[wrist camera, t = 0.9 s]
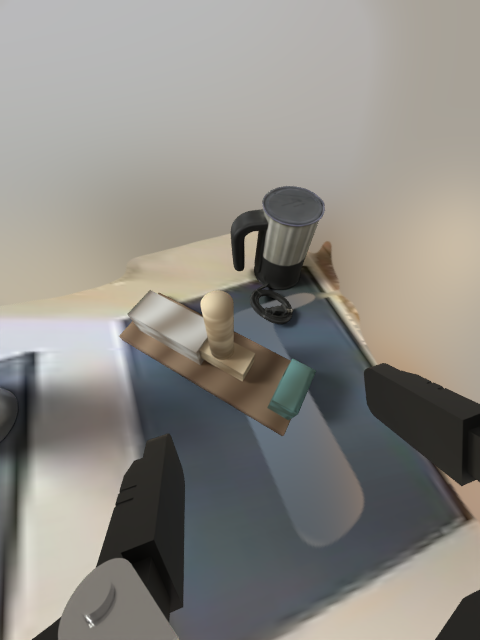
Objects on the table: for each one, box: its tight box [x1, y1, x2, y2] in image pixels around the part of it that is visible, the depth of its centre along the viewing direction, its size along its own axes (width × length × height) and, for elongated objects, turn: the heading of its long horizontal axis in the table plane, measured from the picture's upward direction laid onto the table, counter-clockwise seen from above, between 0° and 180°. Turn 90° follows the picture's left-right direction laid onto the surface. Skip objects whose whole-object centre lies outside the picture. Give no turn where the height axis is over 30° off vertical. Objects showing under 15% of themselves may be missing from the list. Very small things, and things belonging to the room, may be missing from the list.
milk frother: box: [231, 186, 325, 324], centre depth 40 cm, size 14×16×15 cm
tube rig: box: [119, 290, 316, 436], centre depth 36 cm, size 29×10×7 cm, turn 60°
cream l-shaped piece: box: [199, 291, 255, 381], centre depth 31 cm, size 18×3×15 cm, turn 60°
